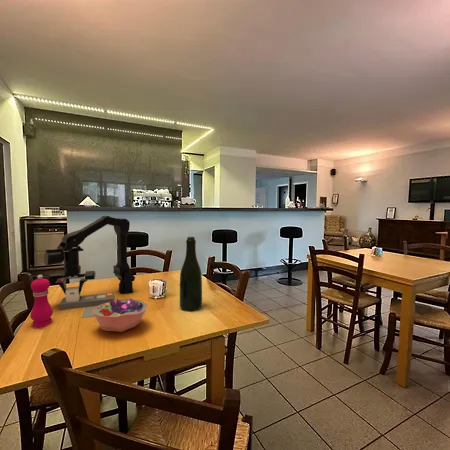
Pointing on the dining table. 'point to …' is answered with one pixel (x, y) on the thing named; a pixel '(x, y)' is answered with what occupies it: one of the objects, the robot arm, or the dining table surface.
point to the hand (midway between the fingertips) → (73, 294)
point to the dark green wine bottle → (190, 279)
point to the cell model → (120, 314)
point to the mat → (88, 312)
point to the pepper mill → (41, 303)
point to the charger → (72, 294)
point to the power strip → (87, 301)
